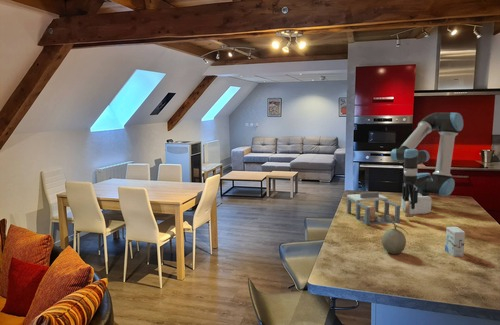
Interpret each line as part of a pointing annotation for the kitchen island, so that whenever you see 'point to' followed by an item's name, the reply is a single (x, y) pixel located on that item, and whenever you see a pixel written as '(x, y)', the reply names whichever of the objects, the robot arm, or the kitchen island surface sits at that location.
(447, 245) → the ink box
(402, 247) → the fruit
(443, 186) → the robot arm
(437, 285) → the kitchen island surface
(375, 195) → the lid
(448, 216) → the kitchen island surface
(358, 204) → the housing
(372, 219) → the seated rounded capsule
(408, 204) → the pink rounded capsule
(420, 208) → the cable organizer
